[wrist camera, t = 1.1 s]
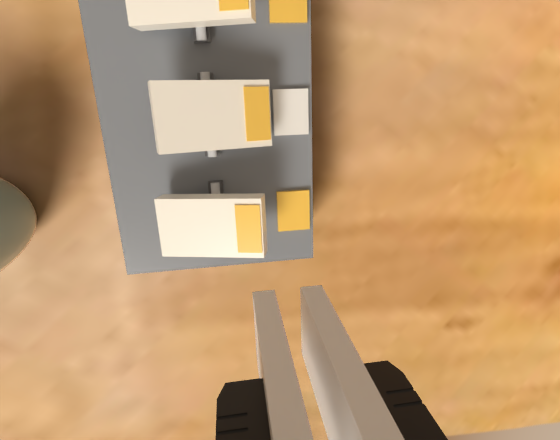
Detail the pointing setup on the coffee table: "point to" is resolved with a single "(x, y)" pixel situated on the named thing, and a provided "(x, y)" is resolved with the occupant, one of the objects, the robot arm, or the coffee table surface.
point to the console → (205, 164)
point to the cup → (14, 222)
